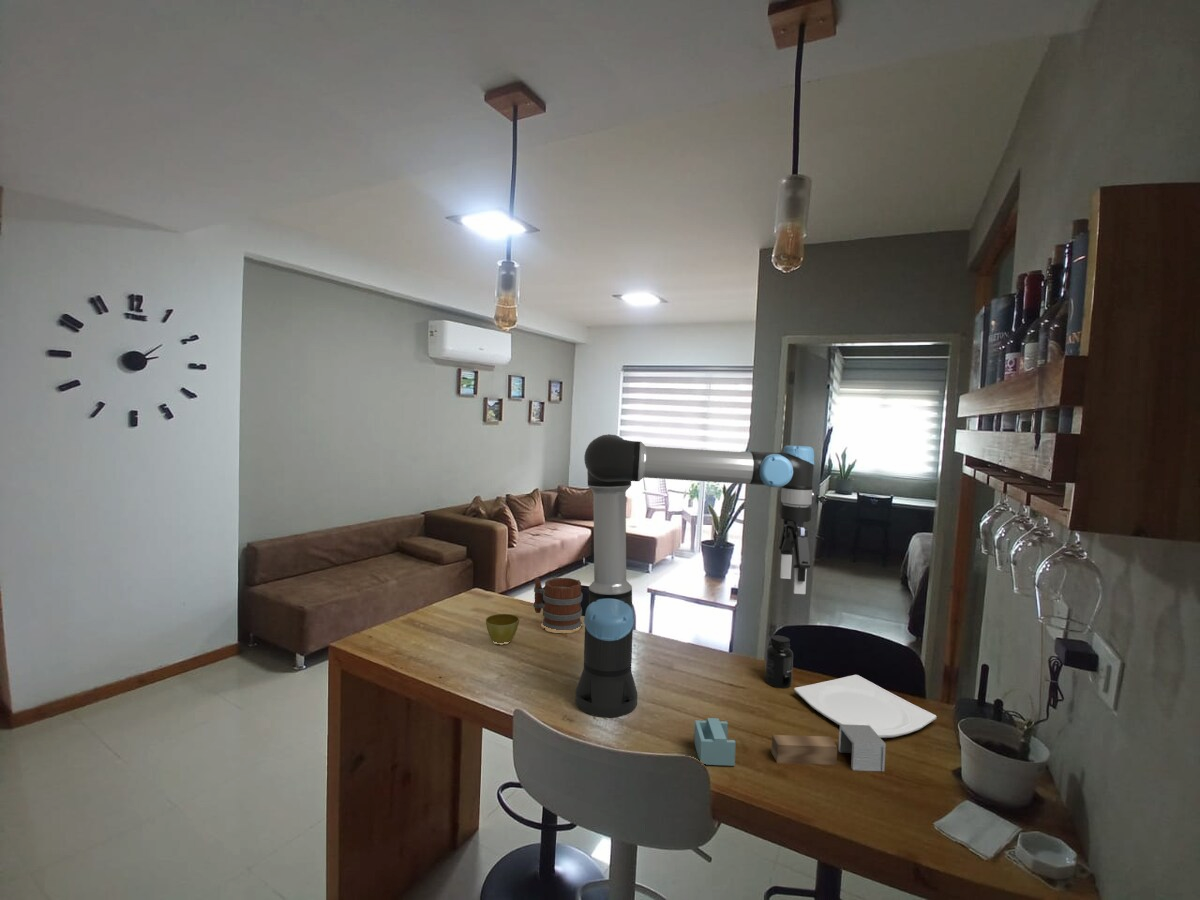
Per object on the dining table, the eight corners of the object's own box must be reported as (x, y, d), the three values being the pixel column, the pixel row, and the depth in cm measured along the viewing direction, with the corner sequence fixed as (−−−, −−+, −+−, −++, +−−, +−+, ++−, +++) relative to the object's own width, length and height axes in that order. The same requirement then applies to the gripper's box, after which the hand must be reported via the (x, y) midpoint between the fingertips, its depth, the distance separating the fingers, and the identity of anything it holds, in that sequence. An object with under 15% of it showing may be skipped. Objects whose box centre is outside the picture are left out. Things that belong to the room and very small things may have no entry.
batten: (777, 764, 107) (778, 744, 107) (771, 753, 111) (772, 734, 111) (836, 766, 107) (837, 746, 107) (828, 755, 111) (829, 736, 111)
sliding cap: (700, 764, 106) (701, 738, 105) (694, 741, 113) (695, 717, 113) (734, 765, 105) (735, 739, 105) (726, 743, 113) (727, 718, 113)
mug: (565, 638, 168) (566, 591, 167) (520, 624, 178) (521, 579, 178) (591, 625, 179) (592, 581, 178) (547, 612, 190) (548, 571, 189)
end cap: (852, 770, 106) (854, 742, 106) (838, 750, 112) (839, 724, 112) (884, 771, 106) (885, 743, 105) (867, 751, 112) (869, 725, 112)
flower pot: (502, 633, 170) (503, 611, 170) (525, 641, 164) (526, 618, 164) (478, 642, 162) (478, 619, 161) (501, 651, 156) (502, 627, 156)
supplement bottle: (793, 690, 138) (795, 645, 138) (766, 687, 139) (768, 642, 139) (789, 678, 145) (791, 635, 144) (763, 675, 146) (765, 632, 146)
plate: (869, 751, 113) (870, 739, 113) (786, 697, 135) (786, 686, 135) (945, 729, 123) (945, 717, 122) (855, 681, 145) (856, 671, 145)
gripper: (827, 513, 126) (822, 601, 126) (797, 499, 150) (793, 573, 151) (794, 511, 126) (789, 599, 127) (770, 498, 151) (766, 572, 152)
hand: (792, 585), depth 139 cm, fingers open, 13 cm apart
